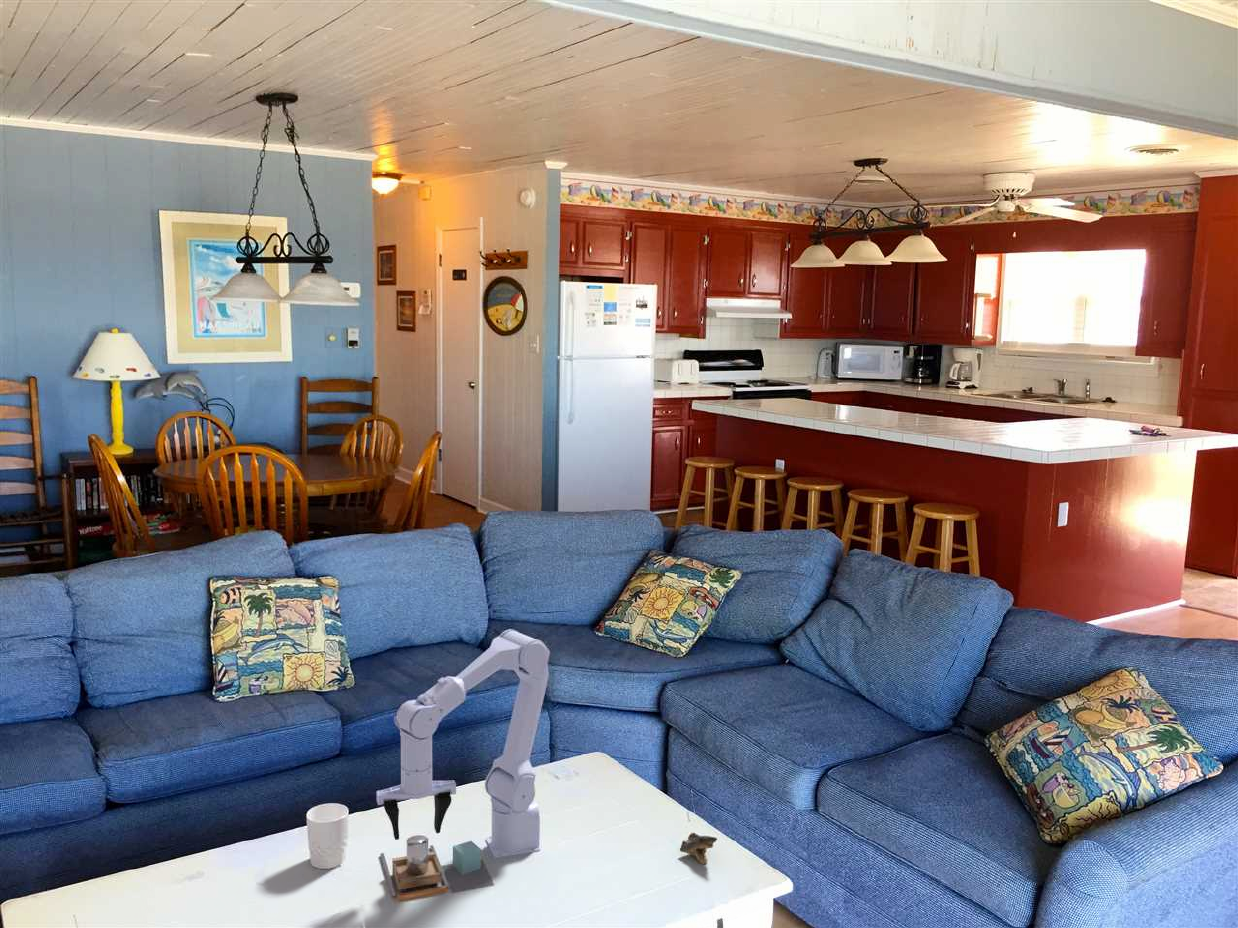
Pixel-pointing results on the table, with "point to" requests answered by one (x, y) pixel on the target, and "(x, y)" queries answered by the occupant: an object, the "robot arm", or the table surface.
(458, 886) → the mat
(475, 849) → the part
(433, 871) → the brown wooden tray
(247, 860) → the table surface
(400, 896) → the track
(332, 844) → the white cup
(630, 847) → the table surface
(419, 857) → the part
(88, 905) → the table surface
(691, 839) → the shark head
